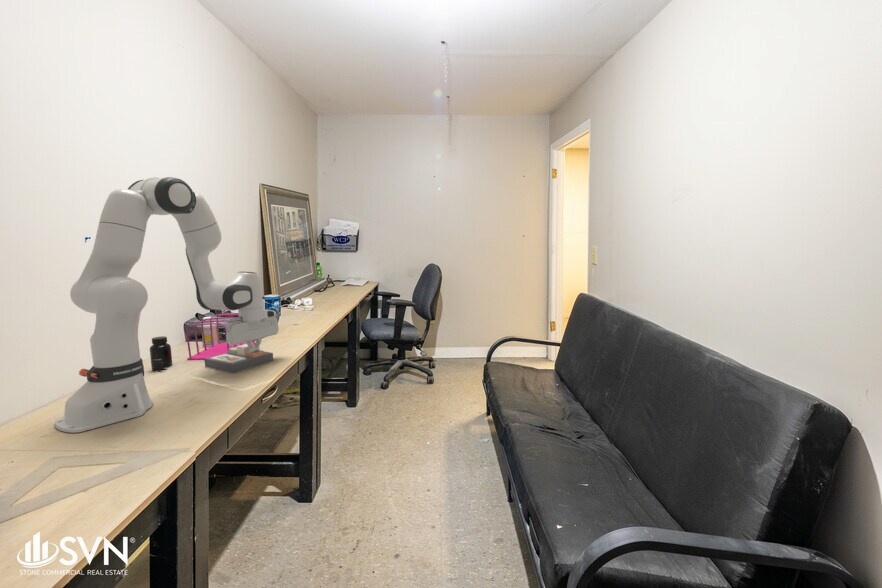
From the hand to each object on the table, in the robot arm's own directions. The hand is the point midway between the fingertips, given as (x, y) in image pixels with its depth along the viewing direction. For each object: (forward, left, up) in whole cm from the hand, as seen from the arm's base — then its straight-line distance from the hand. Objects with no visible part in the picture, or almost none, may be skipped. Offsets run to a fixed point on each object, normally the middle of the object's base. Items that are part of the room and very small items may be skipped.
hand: (254, 351), depth 174 cm
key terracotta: (0, 0, -4) cm, 4 cm away
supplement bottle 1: (-19, +30, -6) cm, 36 cm away
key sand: (0, +5, -3) cm, 6 cm away
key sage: (0, +11, -4) cm, 12 cm away
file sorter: (+5, +28, -6) cm, 29 cm away
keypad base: (-3, +5, -6) cm, 8 cm away
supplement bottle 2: (+11, +47, -6) cm, 49 cm away
